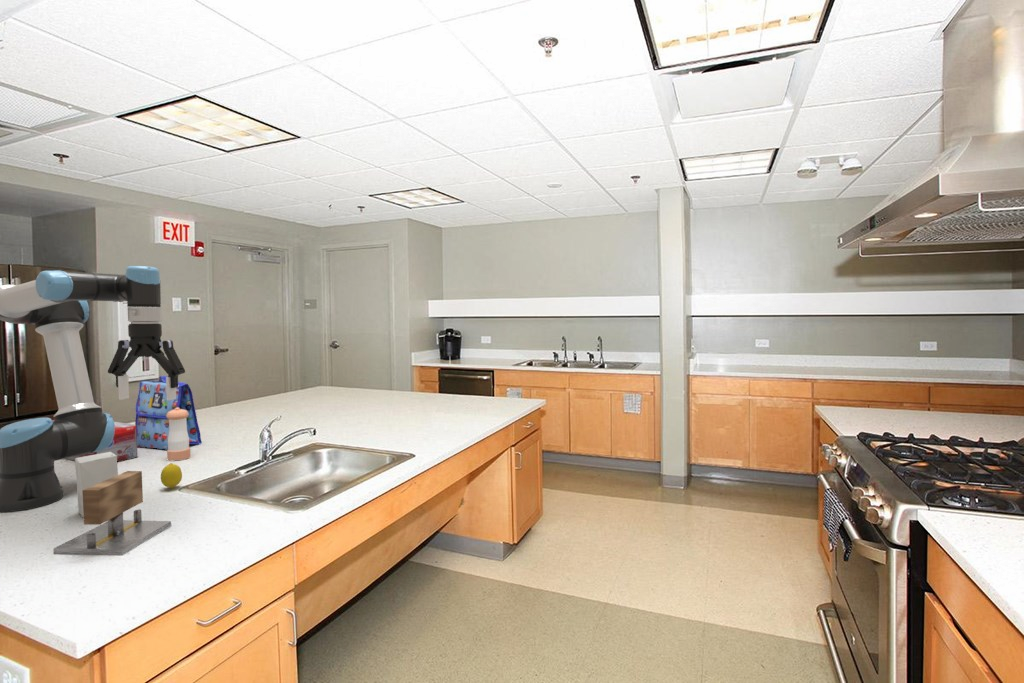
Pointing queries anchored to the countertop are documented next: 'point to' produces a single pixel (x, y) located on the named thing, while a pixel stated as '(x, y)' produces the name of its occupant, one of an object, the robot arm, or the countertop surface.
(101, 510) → the wooden block
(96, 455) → the skincare box
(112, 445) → the soda box
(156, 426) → the lunch bag
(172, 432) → the pink and white bottle
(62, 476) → the countertop surface
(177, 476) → the lemon
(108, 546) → the base plate
